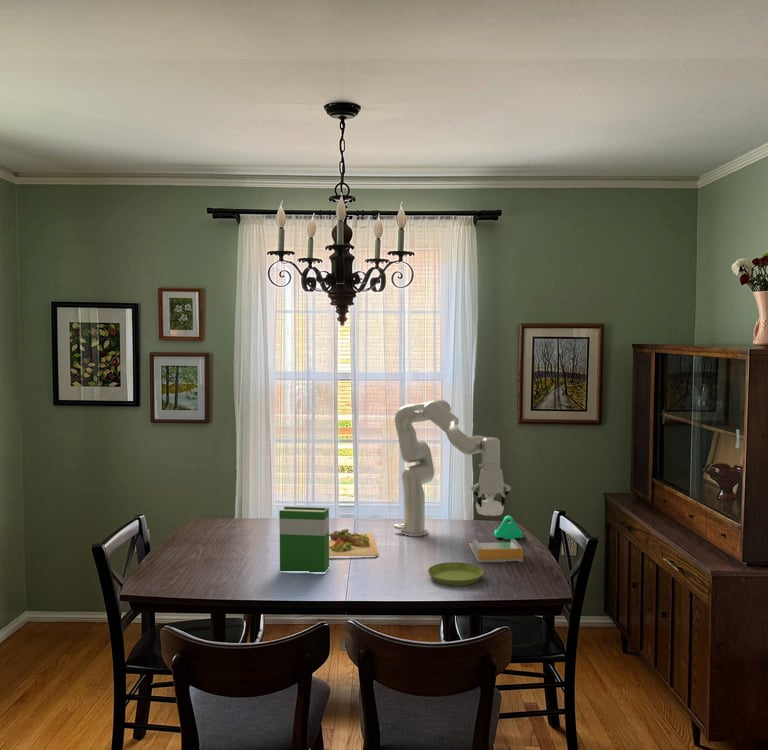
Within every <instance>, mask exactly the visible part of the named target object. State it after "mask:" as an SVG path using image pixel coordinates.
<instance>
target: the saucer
mask: <svg viewBox="0 0 768 750" xmlns="http://www.w3.org/2000/svg"><path fill="white" fill-rule="evenodd" d="M427 572H428V574H429V576H430V577H431V578H432V580H434V581H435V582H436V583H438V584H441V585H445V586H451V587H453V586H455V587H462V586H469V585H473V584H475V583H476V582H478V581H479V580H480V579H481V578H482V577H483V575H484V569H483V568H482V567H480V566H478V565H475V564H472V563H468V562H460V561H459V562H457V561H455V562H453V561H452V562H442V563H437V564H434V565H431V566H430V567H428V570H427Z"/></svg>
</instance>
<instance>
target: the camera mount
mask: <svg viewBox="0 0 768 750" xmlns="http://www.w3.org/2000/svg"><path fill="white" fill-rule="evenodd" d="M508 521H510V522H508ZM493 534H494V537H495V538H496V539H498V538H501V539H503V541H504V540H505V539H523V535H524V534H523V532H522V530H521V529H520V528H519V526H518V525H517V524H516V522H515V520H514V518H513V517H512V516H511V515H506V516H504V517H503V520H502V522H501V523H500V525H499V527H498V528H497V529H494V532H493Z"/></svg>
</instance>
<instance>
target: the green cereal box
mask: <svg viewBox="0 0 768 750" xmlns="http://www.w3.org/2000/svg"><path fill="white" fill-rule="evenodd" d="M278 512H279V513H278V515H279V518H278V519H279V521H278V522H279V572H280V571H309V572H325V571H326V570H327V569H328V567H329V568H330V559H329V534H330V508H329V507H317V506H316V507H315V506H311V507H310V506H284V507H283V509H282V510H279V511H278Z"/></svg>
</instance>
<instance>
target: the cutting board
mask: <svg viewBox="0 0 768 750" xmlns="http://www.w3.org/2000/svg"><path fill="white" fill-rule="evenodd" d="M373 534H374V533H372V532H354V533H352V534H351V532H349V528H348V529H345V528H343V529H342V530H341V531H338V530H335V531H333V532H330V533H329V536H330V537H331V540H329V556H377V555H379V550H378V547H377V542H376V539H375V540H374V538H375V536H373Z"/></svg>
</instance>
